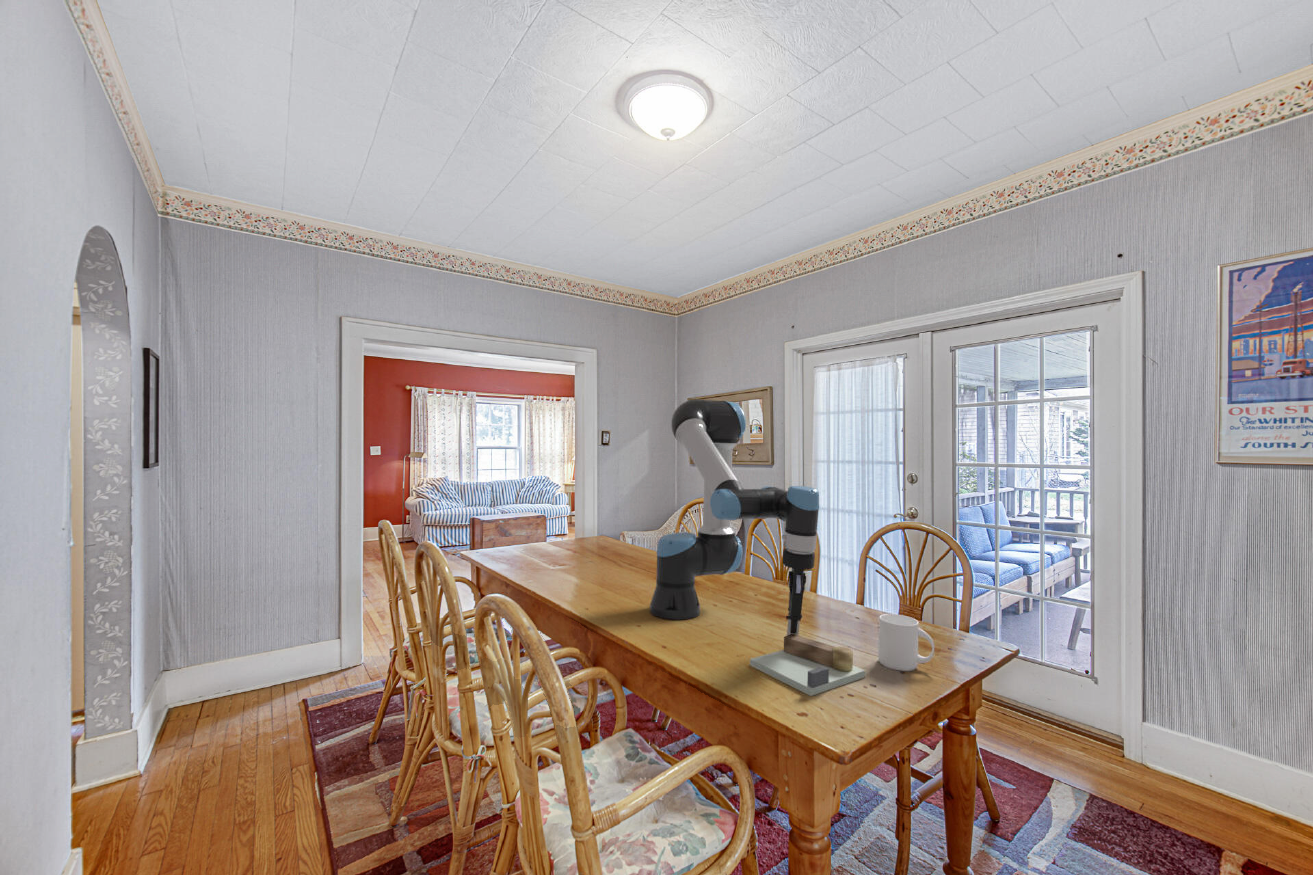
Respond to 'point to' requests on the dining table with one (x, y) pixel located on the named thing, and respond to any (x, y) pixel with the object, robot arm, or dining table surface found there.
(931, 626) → the dining table surface
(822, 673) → the block
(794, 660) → the seat board
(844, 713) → the dining table surface
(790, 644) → the leg
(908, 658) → the mug
